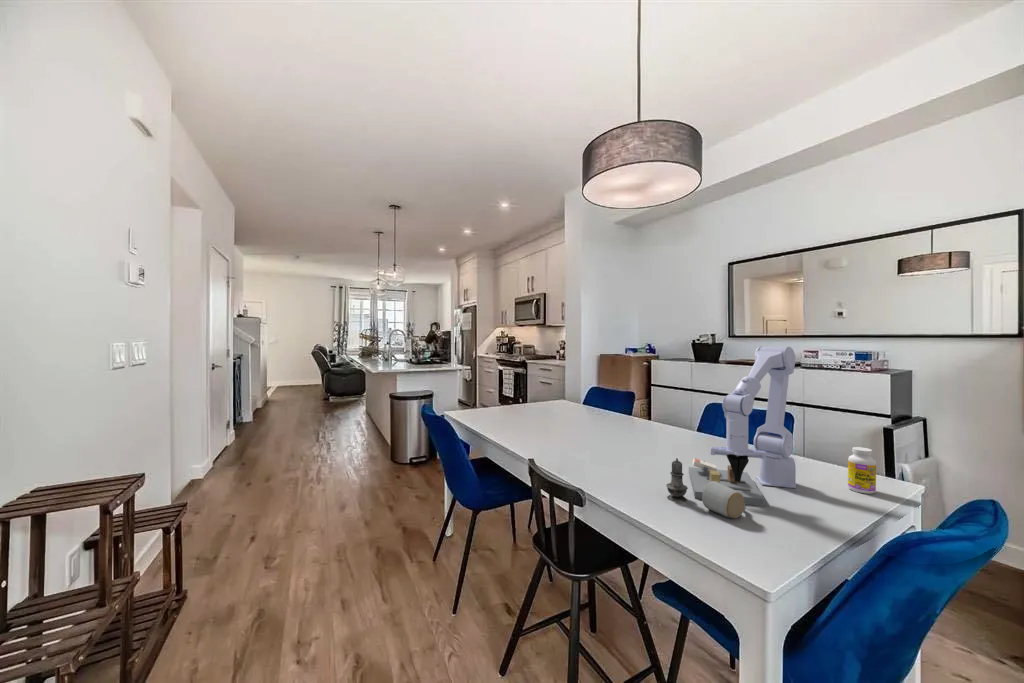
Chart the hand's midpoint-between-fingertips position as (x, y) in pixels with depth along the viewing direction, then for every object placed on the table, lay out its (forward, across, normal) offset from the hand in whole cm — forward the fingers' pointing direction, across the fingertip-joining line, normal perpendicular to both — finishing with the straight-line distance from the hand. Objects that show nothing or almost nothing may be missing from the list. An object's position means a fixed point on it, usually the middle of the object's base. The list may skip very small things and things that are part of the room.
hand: (737, 480), depth 124 cm
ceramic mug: (+5, -5, -14) cm, 16 cm away
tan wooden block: (+2, -6, 0) cm, 6 cm away
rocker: (0, -8, +13) cm, 15 cm away
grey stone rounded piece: (+5, -17, -8) cm, 19 cm away
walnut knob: (+2, 0, +7) cm, 7 cm away
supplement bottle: (+5, +37, +17) cm, 41 cm away
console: (+5, -3, +6) cm, 8 cm away
